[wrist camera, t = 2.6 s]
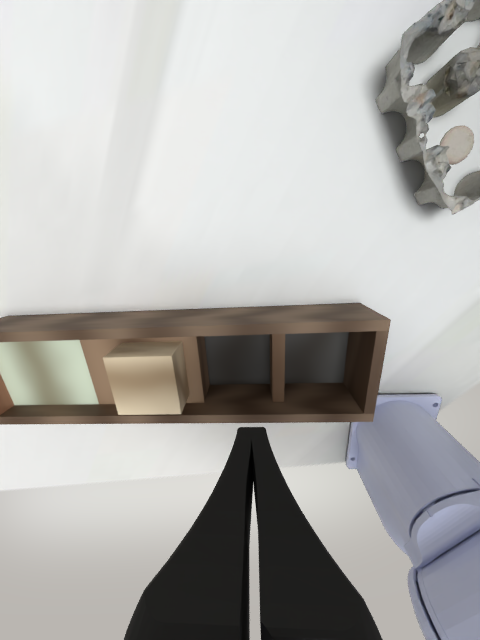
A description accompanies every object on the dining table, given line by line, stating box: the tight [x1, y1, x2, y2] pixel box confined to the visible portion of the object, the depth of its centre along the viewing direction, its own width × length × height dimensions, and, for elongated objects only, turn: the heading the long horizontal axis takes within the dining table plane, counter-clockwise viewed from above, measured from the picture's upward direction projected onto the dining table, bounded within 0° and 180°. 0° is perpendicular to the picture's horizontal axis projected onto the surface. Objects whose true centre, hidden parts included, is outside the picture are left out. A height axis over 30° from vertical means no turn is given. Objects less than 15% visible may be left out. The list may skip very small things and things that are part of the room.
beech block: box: [103, 341, 190, 415], centre depth 18 cm, size 5×5×2 cm
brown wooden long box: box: [0, 303, 391, 424], centre depth 20 cm, size 32×9×4 cm, turn 93°
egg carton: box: [376, 0, 480, 214], centre depth 14 cm, size 11×8×4 cm
